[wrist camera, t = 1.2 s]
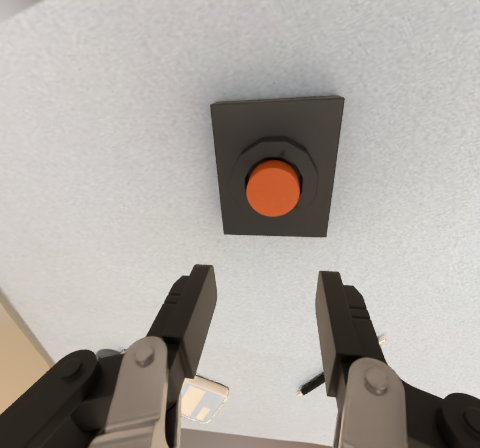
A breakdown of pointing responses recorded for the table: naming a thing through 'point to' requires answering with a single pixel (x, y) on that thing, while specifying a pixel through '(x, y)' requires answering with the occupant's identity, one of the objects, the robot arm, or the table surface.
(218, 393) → the calculator
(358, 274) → the table surface
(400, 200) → the table surface
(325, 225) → the housing
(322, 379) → the pen
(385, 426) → the robot arm
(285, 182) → the button
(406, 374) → the table surface
